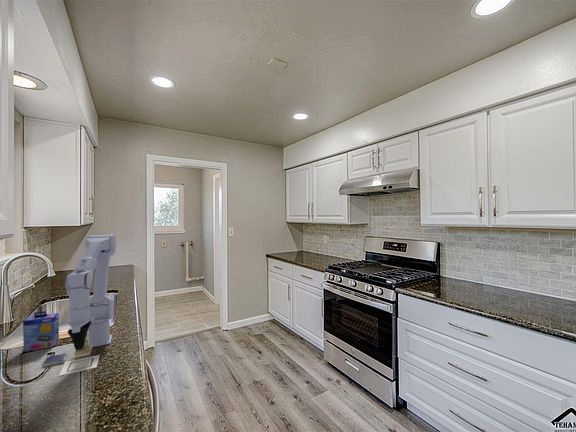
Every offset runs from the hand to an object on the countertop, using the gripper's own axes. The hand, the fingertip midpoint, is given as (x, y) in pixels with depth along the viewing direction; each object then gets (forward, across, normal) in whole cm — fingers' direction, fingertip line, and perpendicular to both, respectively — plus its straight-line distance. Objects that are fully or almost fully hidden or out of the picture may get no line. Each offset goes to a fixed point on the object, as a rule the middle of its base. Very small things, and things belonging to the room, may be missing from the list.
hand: (80, 346), depth 96 cm
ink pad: (+6, +8, +8) cm, 13 cm away
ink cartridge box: (+6, +26, +16) cm, 31 cm away
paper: (+6, 0, 0) cm, 6 cm away
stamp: (+3, 0, -1) cm, 3 cm away
